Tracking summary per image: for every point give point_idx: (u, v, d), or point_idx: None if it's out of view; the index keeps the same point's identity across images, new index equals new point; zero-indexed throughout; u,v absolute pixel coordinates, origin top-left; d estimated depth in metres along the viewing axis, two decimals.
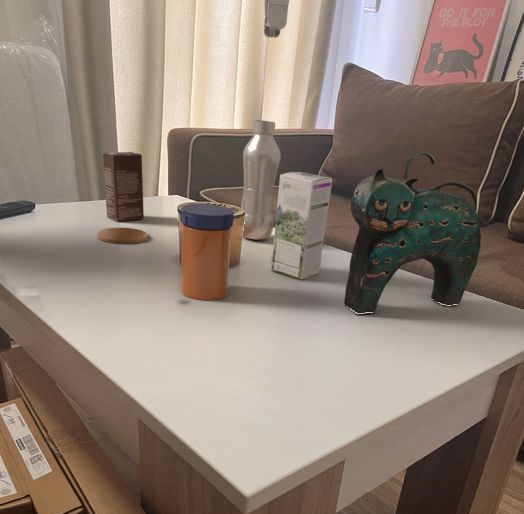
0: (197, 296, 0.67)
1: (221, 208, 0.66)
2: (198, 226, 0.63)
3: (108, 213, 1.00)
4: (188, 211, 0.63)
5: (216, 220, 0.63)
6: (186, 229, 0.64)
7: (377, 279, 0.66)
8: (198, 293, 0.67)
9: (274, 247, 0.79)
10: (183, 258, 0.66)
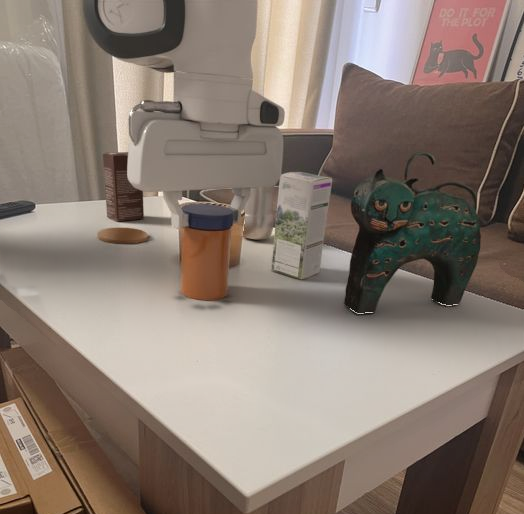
0: (197, 296, 0.67)
1: (221, 208, 0.66)
2: (198, 226, 0.63)
3: (108, 213, 1.00)
4: (188, 211, 0.63)
5: (216, 220, 0.63)
6: (186, 229, 0.64)
7: (377, 279, 0.66)
8: (198, 293, 0.67)
9: (274, 247, 0.79)
10: (183, 258, 0.66)
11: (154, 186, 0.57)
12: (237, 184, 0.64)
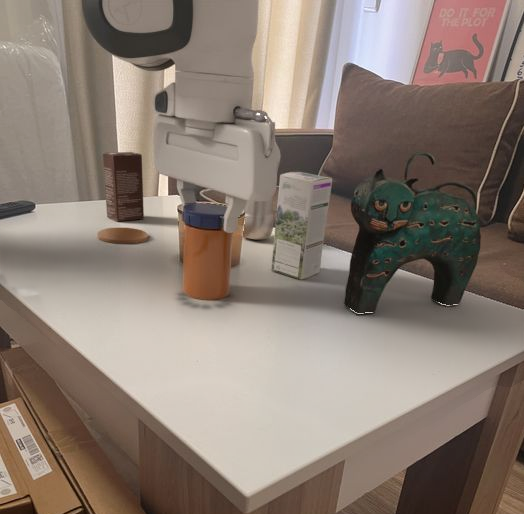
0: (200, 296, 0.67)
1: (199, 205, 0.67)
2: None
3: (108, 213, 1.00)
4: None
5: None
6: (188, 229, 0.64)
7: (377, 279, 0.66)
8: (201, 293, 0.67)
9: (274, 247, 0.79)
10: (185, 258, 0.66)
11: None
12: None
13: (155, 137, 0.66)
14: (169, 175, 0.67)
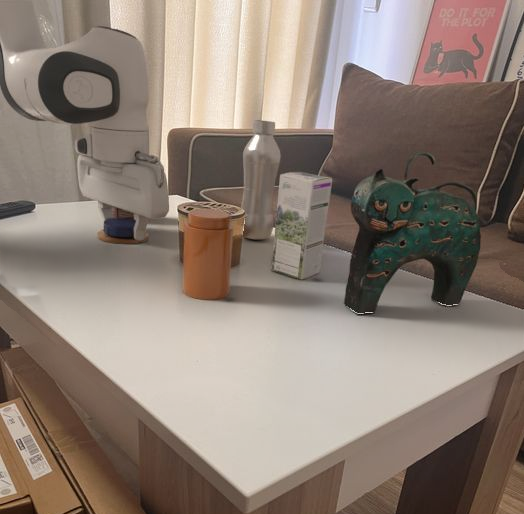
0: (200, 296, 0.67)
1: (116, 219, 0.90)
2: None
3: None
4: None
5: None
6: (189, 229, 0.64)
7: (377, 279, 0.66)
8: (201, 293, 0.67)
9: (274, 247, 0.79)
10: (185, 258, 0.66)
11: None
12: None
13: (79, 170, 0.89)
14: (92, 198, 0.90)
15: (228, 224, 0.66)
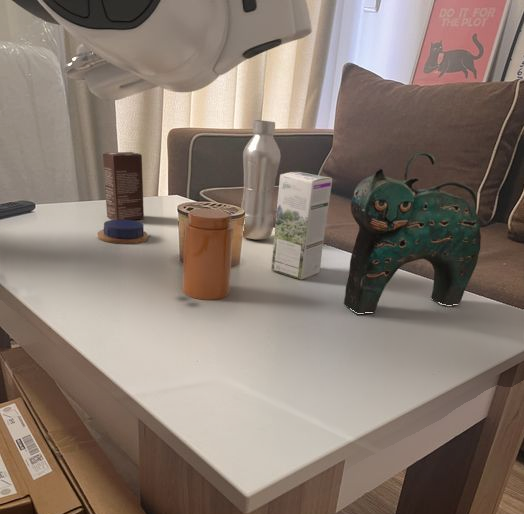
0: (200, 296, 0.67)
1: (116, 221, 0.90)
2: (142, 234, 0.89)
3: (108, 213, 1.00)
4: (135, 227, 0.87)
5: None
6: (189, 229, 0.64)
7: (377, 279, 0.66)
8: (201, 293, 0.67)
9: (274, 247, 0.79)
10: (185, 258, 0.66)
11: None
12: None
13: None
14: None
15: (228, 224, 0.66)
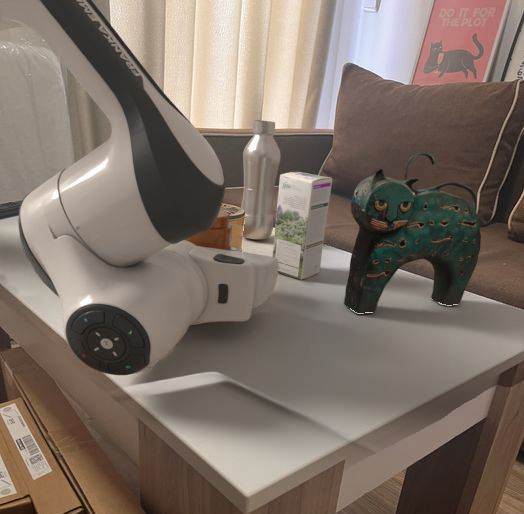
0: None
1: None
2: None
3: None
4: None
5: None
6: None
7: (377, 279, 0.66)
8: None
9: (274, 247, 0.79)
10: None
11: None
12: None
13: (263, 261, 0.58)
14: (249, 253, 0.62)
15: (227, 223, 0.66)
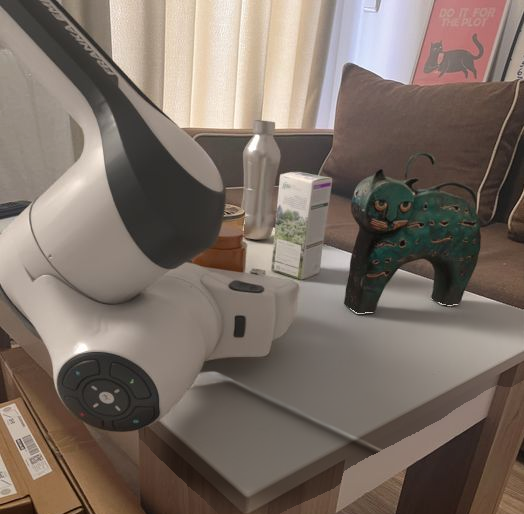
0: None
1: None
2: None
3: None
4: None
5: None
6: None
7: (377, 279, 0.66)
8: None
9: (274, 247, 0.79)
10: None
11: None
12: None
13: (283, 287, 0.51)
14: (267, 276, 0.55)
15: (241, 242, 0.58)
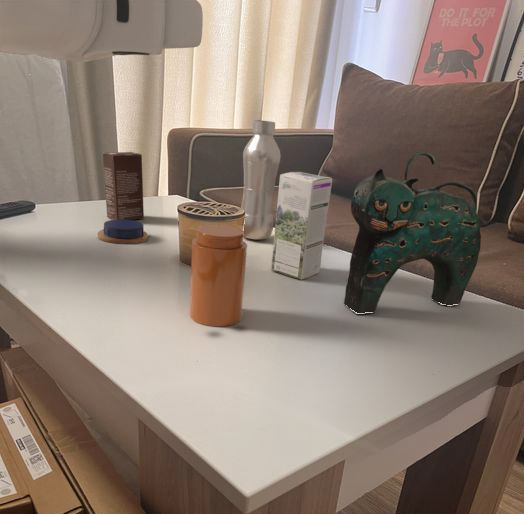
0: (209, 322, 0.60)
1: (116, 221, 0.90)
2: (142, 234, 0.89)
3: (108, 213, 1.00)
4: (135, 227, 0.87)
5: None
6: (197, 249, 0.57)
7: (377, 279, 0.66)
8: (210, 319, 0.60)
9: (274, 247, 0.79)
10: (193, 280, 0.59)
11: None
12: None
13: None
14: None
15: (241, 242, 0.58)
